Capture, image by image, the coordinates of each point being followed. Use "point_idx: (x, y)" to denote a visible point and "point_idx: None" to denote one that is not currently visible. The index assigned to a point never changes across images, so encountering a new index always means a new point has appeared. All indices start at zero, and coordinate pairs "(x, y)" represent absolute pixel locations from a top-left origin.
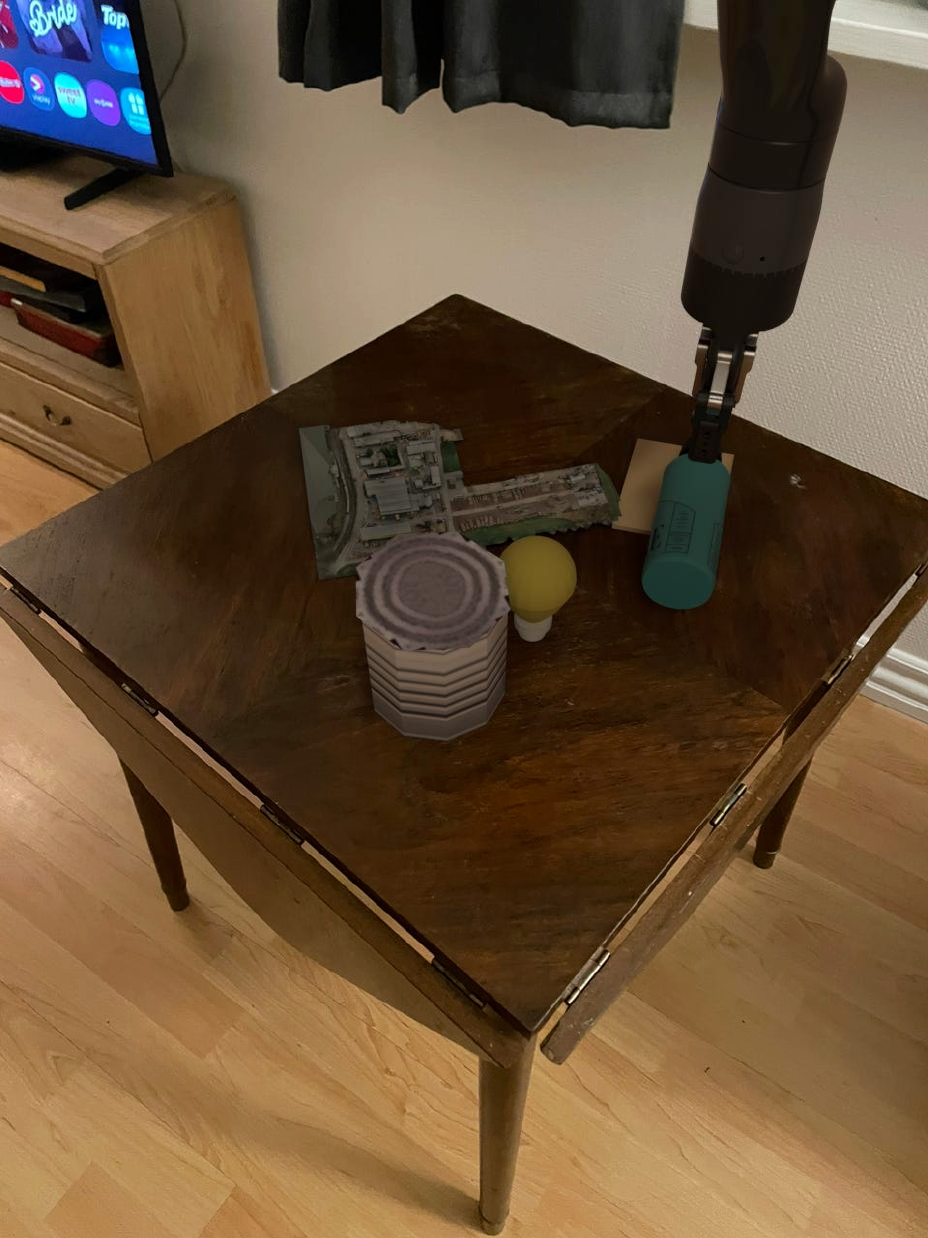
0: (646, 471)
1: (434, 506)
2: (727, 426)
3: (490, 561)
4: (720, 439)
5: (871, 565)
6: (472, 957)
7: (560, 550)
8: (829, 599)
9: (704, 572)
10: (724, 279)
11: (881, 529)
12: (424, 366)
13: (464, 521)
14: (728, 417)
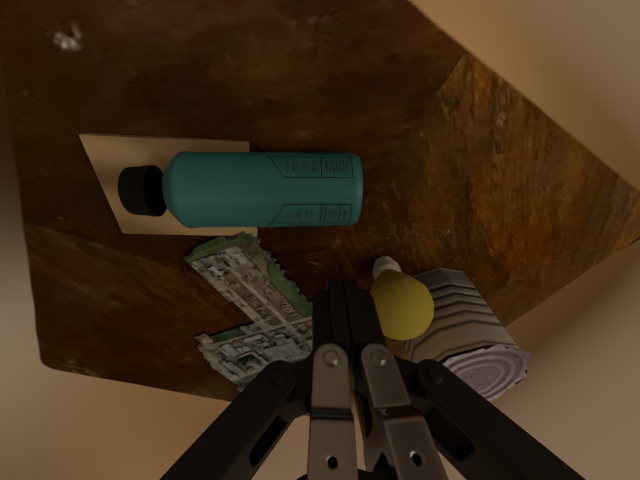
0: (169, 219)
1: (281, 331)
2: (442, 376)
3: (449, 364)
4: (364, 315)
5: None
6: (617, 246)
7: (404, 316)
8: None
9: (362, 178)
10: None
11: None
12: (136, 363)
13: (290, 316)
14: (568, 468)
